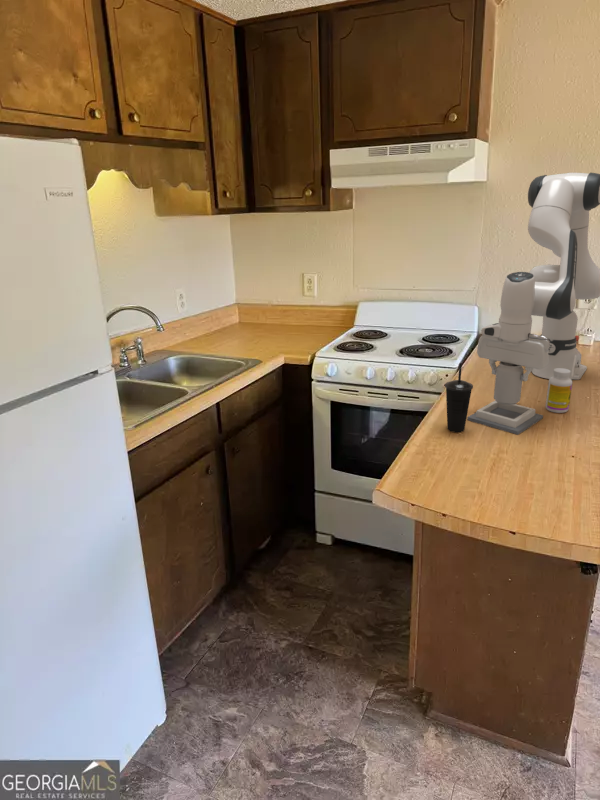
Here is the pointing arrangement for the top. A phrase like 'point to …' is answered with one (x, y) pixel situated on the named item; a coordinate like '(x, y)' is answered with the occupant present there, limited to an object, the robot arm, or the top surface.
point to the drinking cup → (457, 403)
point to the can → (508, 383)
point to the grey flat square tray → (506, 417)
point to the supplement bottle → (559, 391)
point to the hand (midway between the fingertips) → (509, 377)
